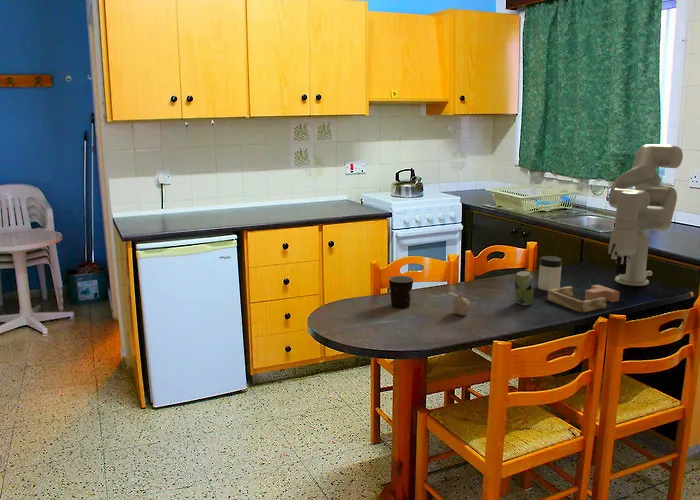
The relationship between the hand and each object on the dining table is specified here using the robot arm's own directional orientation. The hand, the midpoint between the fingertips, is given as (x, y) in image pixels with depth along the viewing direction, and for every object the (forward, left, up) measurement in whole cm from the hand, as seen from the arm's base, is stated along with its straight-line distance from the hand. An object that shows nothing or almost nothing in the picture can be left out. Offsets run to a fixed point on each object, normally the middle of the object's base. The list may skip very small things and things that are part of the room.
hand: (620, 273), depth 240 cm
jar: (+16, -19, -9) cm, 27 cm away
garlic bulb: (+66, -9, -9) cm, 67 cm away
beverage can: (+39, -8, -9) cm, 41 cm away
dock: (+21, 0, -9) cm, 23 cm away
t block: (+10, 0, -9) cm, 13 cm away
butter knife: (+54, -20, -9) cm, 58 cm away
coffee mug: (+81, -26, -9) cm, 86 cm away
